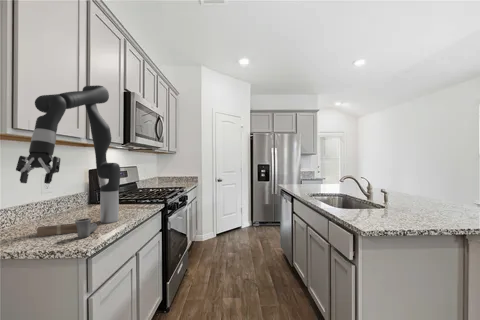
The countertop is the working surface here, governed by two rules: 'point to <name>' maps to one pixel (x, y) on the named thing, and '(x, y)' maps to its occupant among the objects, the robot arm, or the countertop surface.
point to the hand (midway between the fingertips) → (35, 183)
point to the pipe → (85, 227)
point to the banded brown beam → (56, 229)
